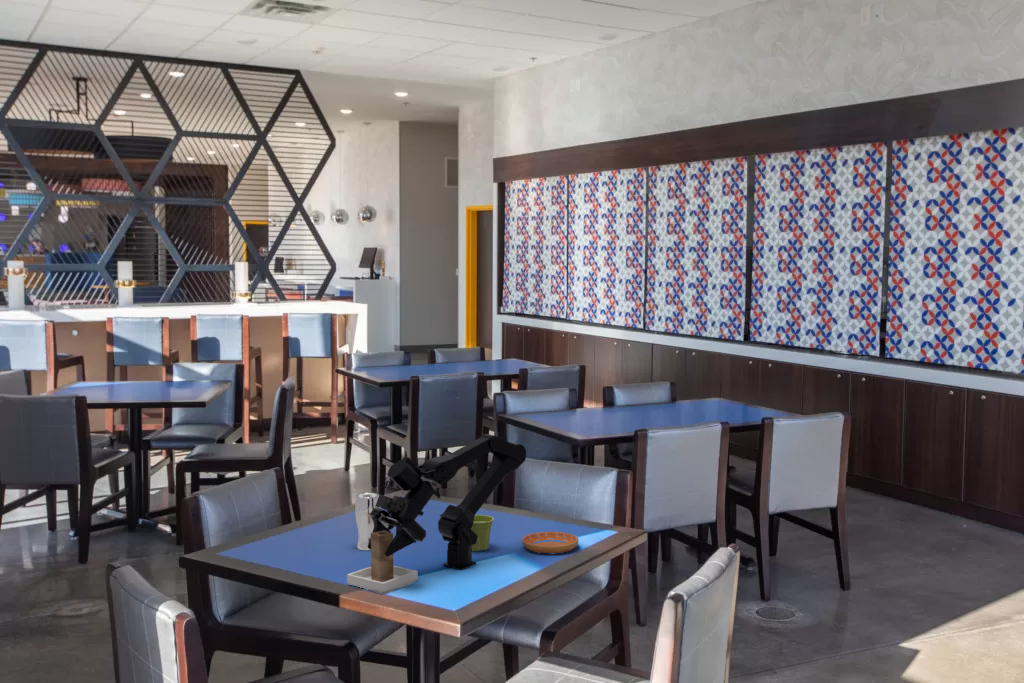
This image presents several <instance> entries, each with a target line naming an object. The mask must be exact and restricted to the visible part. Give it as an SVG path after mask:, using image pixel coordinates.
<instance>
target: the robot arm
mask: <svg viewBox="0 0 1024 683" xmlns="http://www.w3.org/2000/svg"><path fill="white" fill-rule="evenodd" d="M489 453H491V454H492V457H491V463H490V465H489V467H488V468H487V469H486V470H485V472H483V474H482V476H481V477H480V478H479V479H478V481H477V482H476V483H475V484H474V486H473V487H472V488H471V490H469V492H468V493H467V494H466V496H465V497H464V498H463V500H462V501H461V502H460V503H459V504H457V505H454V504H448V505H447V507H446V509H445V510H444V511H443V513H441V514H439V517H440V518H439V520H438V522H437V525H438V526H437V529H438V532H439V534H440V535H441V537H442V540H443V541H445V542H448V543H447V550H446V562H444V563H442V564H443V566H444V567H448V568H453V569H457V570H464V569H466V568H470V567H473V566H475V565H477V561H474V560H473V561H472V559H473V558H472V557H473V555H472V554H473V553H472V552H473V551H472V545H473V544H476V542H477V538H478V536H477V535H476V534H475V533H474V532H473V531H472V530H471V528H472V526H473V522H474V516H475V515H477V513H478V511H479V510H480V509H481V508H482V506H483V505H484V504H485V503H486V501H487V499H488V498H489V497H490V496H491V495H492V493H493V492H494V491H495V490H496V489H497V487H498V486H499V485H500V483H501V482H502V480H504V478H505V477H506V476H507V475H508V474H511V473H512V472H515V471H516V470H517V469H518V468H519V467H521V465H523V464H524V463H525V461H526V460H527V450H526V448H525V446H524V445H523V444H520V443H515V442H513V441H512V442H511V441H507V440H504V439H502V438H500V437H498V436H497V435H492V434H488V433H485V434H483V435H481V436H480V437H478V438H477V439H475V440H473V441H471V442H470V443H467V444H466V445H464V446H462V447H460V448H459V449H457V450H455V451H453V452H451V453H449V454H446V455H440V456H438V455H437V456H436V457H435V456H434V457H432V458H429V459H426V460H425V461H424V462H423V463H422V464H420V465H416V464H415V463H414V462H413V460H412V459H411V458H410V457H408V456H403V458H402V459H399V460H397V461H396V462H395V463H393V464H392V465H391V466H390V467H389V469H388V471H387V475H388V477H389V478H390V479H391V480H392V482H394V483H395V484H396V486H398V488H400V489H401V490H402V491H403V492H404V491H405V492H406V491H407V492H406V493H405V495H404V496H398V495H394V496H393V497H389V496H386V495H382V494H379V497H378V500H377V503H376V505H375V506H376V507H380V508H374V509H373V510H372V512H371V513H370V516H371V517H372V520H373V523H374V529H373V532H372V533H374V532H379V531H384V530H385V531H388V532H390V533H392V531H391V530H392V529H394V528H396V529H395V536H393V540H392V542H391V543H390V545H389V547H388V548H387V550H386V552H385V555H386V556H387V557H388V556H390V555H392V554H393V555H394V554H395V553H397V552H399V551H401V550H402V549H404V548H406V547H408V546H410V545H412V544H416V543H418V542H420V543H422V542H423V540H425V538H426V537H427V531H426V529H424V527H422V526H421V524H419V523H418V522H417V520H416V519H417V517H418V516H419V517H423V515H424V512H423V509H424V508H425V506H427V504H428V502H429V501H430V500H431V499H432V498H436V499H441V492H440V487H438V486H435V485H434V486H433V484H432V483H435V484H439V485H444V484H446V483H448V482H449V481H451V480H452V479H453V478H455V476H456V475H457V473H458V471H459V470H460V469H462V468H464V467H466V466H467V465H470V464H471V463H472V462H474V461H476V460H478V459H480V458H481V457H483V456H485V455H487V454H489ZM422 478H423V479H424V480H423V479H422ZM417 541H418V542H417ZM368 548H369V549H371V538H370V541H369V544H368Z"/></svg>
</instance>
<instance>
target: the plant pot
mask: <svg viewBox="0 0 1024 683" xmlns="http://www.w3.org/2000/svg"><path fill="white" fill-rule="evenodd" d="M494 519H495V518H494V517H493V516H490V515H488V514H487V515H486V514H485V515H484V514H475V516H474V522H473V526H472V528H471V530H472V531H473V532H474V533H475V534H476V535H477V536H478V538H477V542H476V544H473V545H472V552H474V551H477V552H479V551H482V550H485V551H487V550H489V546H490V536H491V530H492V525H493V522H494ZM486 549H487V550H486Z"/></svg>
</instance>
